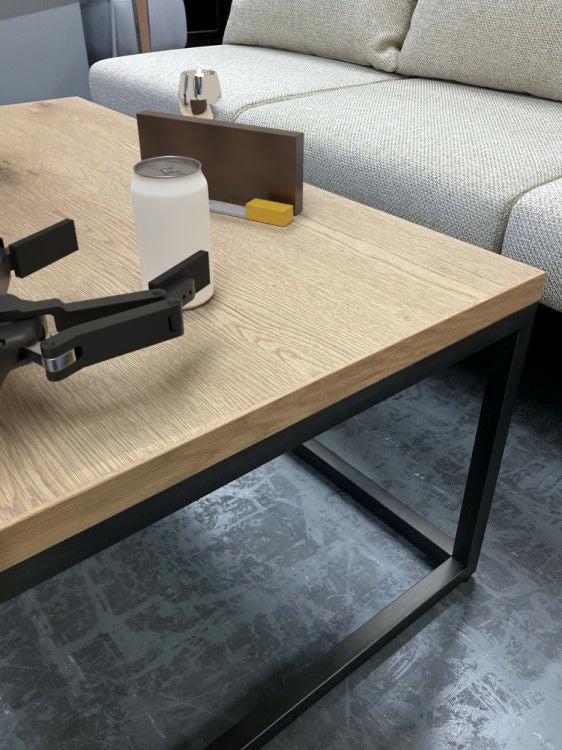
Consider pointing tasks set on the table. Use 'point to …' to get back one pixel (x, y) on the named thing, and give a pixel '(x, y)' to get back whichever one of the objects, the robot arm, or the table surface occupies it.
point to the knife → (258, 211)
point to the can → (171, 217)
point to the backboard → (230, 156)
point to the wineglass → (200, 94)
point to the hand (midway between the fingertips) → (136, 249)
